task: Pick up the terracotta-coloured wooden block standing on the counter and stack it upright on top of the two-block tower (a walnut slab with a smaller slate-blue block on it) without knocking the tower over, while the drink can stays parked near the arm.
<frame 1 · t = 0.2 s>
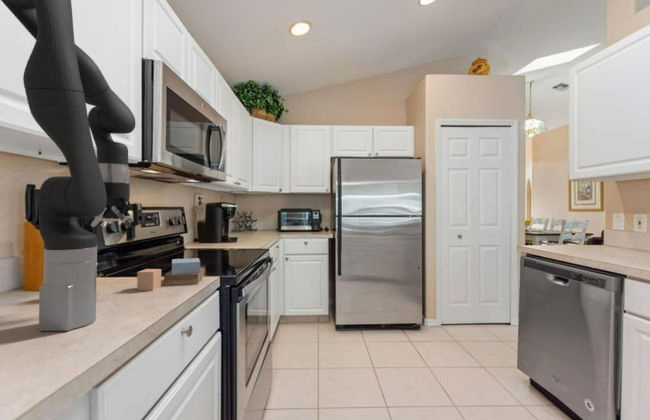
hand: (114, 240, 84), 17 cm above the counter, tool pointing down, fingers open, 8 cm apart
base block: (185, 282, 111), on the counter, touching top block
stack block: (149, 288, 100), on the counter
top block: (185, 271, 111), point 3 cm above the counter, touching base block
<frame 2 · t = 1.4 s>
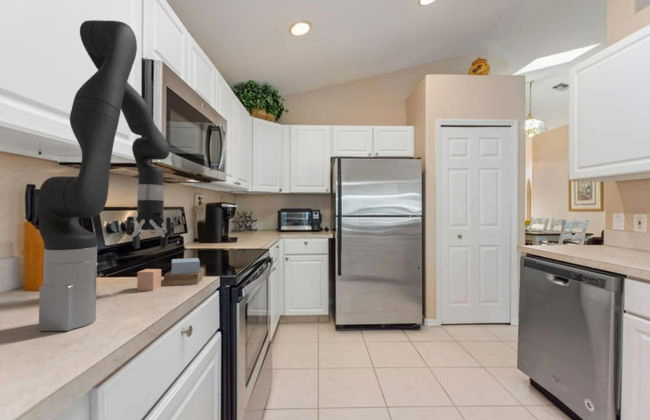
hand: (150, 248, 100), 13 cm above the counter, tool pointing down, fingers open, 8 cm apart
nothing on the counter moved.
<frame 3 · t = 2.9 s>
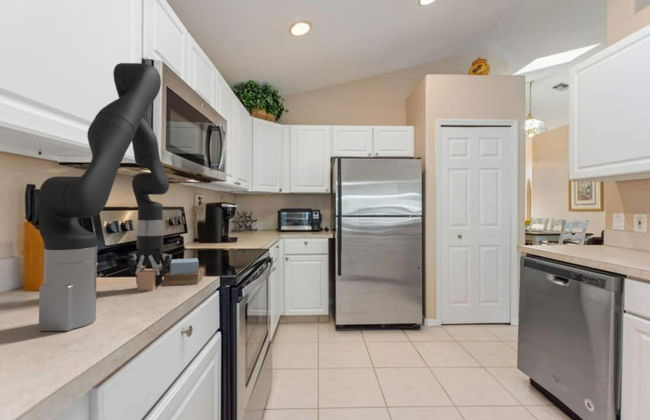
hand: (149, 285, 100), 1 cm above the counter, tool pointing down, fingers closed on stack block, 5 cm apart
base block: (184, 282, 111), on the counter
stack block: (149, 288, 100), on the counter, touching gripper
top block: (184, 271, 111), point 3 cm above the counter
everything else where it was.
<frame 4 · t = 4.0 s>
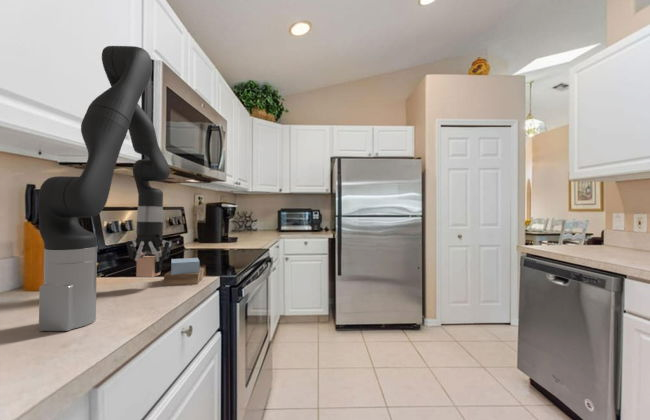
hand: (148, 272, 100), 5 cm above the counter, tool pointing down, fingers closed on stack block, 5 cm apart
stack block: (148, 275, 100), point 4 cm above the counter, touching gripper
everything else where it was.
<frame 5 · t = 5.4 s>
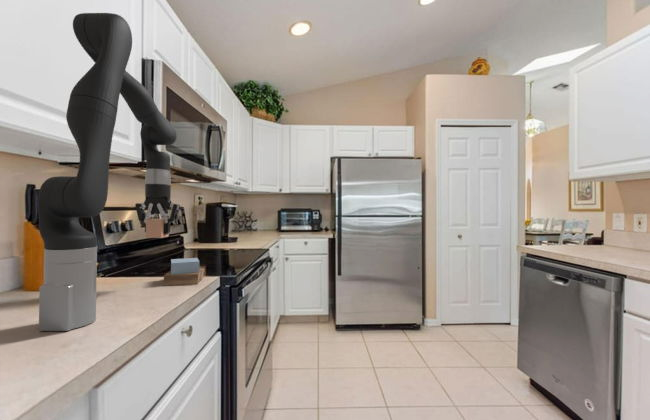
hand: (157, 234, 103), 18 cm above the counter, tool pointing down, fingers closed on stack block, 5 cm apart
stack block: (157, 237, 103), point 17 cm above the counter, touching gripper
everything else where it was.
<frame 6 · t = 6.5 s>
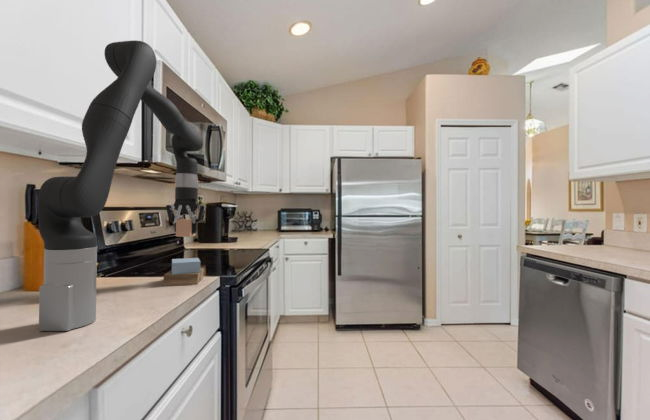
hand: (185, 233, 111), 17 cm above the counter, tool pointing down, fingers closed on stack block, 5 cm apart
base block: (184, 282, 111), on the counter, touching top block
stack block: (185, 236, 111), point 16 cm above the counter, touching gripper
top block: (185, 271, 111), point 4 cm above the counter, touching base block
everything else where it was.
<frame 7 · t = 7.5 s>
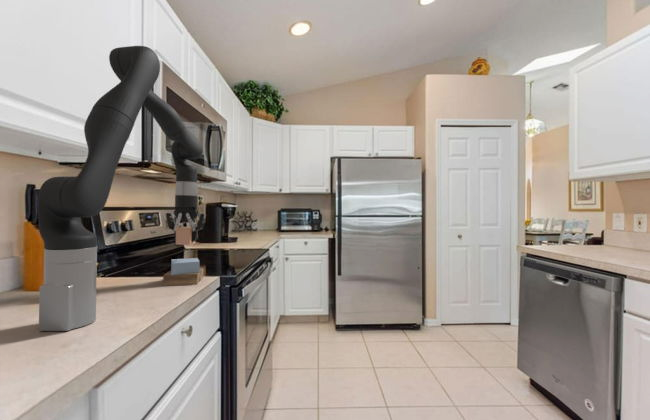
hand: (185, 241, 111), 14 cm above the counter, tool pointing down, fingers closed on stack block, 5 cm apart
stack block: (185, 243, 111), point 14 cm above the counter, touching gripper
everything else where it was.
when the fingers open (10 cm above the counter, at t = 9.6 s): stack block drops 1 cm, resting on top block.
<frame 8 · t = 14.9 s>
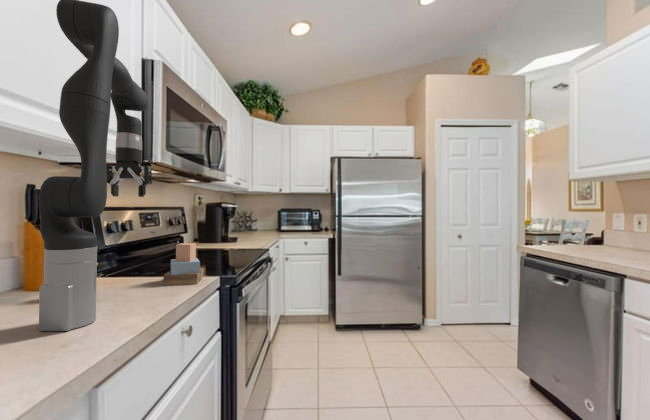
hand: (128, 196, 103), 30 cm above the counter, tool pointing down, fingers open, 8 cm apart
stack block: (185, 260, 112), point 7 cm above the counter, touching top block
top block: (185, 271, 111), point 3 cm above the counter, touching base block, stack block
everything else where it was.
at the end: stack block inside the target area on the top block (0.3 cm from its centre), point 4.0 cm above the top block's base; stack block tilted 1°; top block 0.2 cm from the base block (horizontally) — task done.
